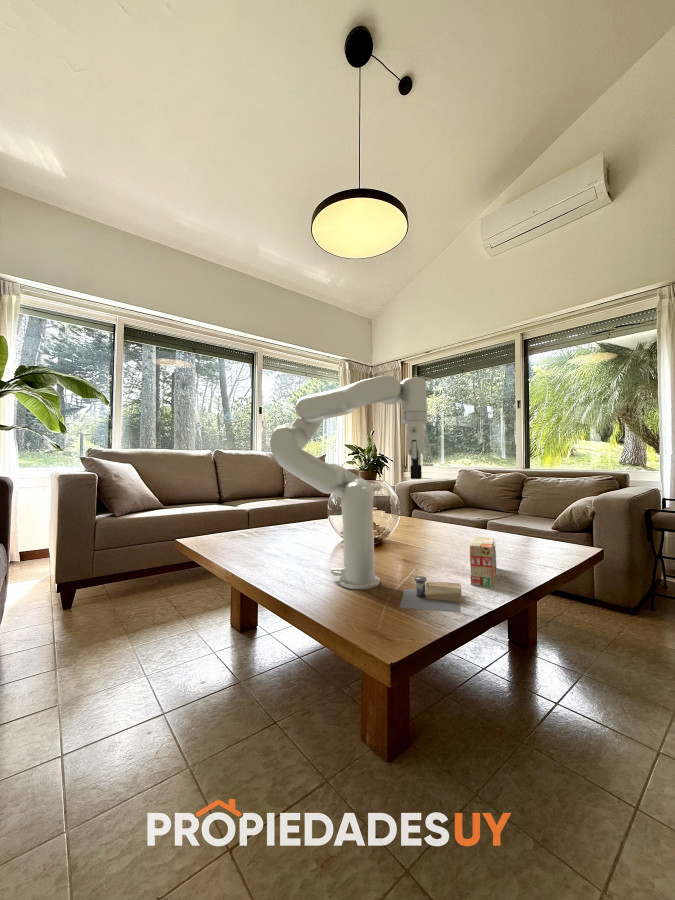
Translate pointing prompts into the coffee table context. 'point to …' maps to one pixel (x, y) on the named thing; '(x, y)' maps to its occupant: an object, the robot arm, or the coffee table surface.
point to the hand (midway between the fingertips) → (416, 478)
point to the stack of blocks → (483, 561)
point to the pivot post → (420, 586)
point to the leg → (443, 591)
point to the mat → (427, 602)
